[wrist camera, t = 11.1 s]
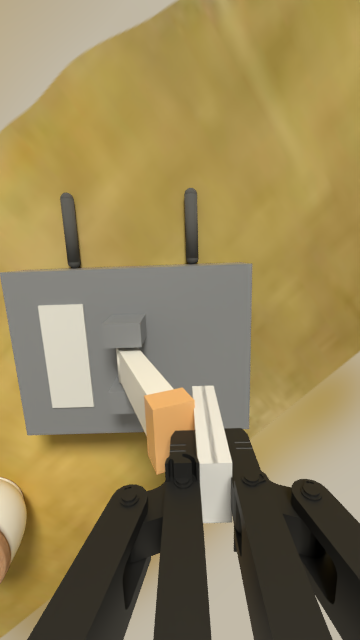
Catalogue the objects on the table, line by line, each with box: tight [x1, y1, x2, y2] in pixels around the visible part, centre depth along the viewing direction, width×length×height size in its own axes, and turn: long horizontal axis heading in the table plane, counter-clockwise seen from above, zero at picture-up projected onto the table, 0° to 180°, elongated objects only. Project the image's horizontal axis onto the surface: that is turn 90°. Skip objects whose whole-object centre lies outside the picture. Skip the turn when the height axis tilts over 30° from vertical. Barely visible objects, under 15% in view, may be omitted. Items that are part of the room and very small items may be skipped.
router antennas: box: [60, 188, 198, 268], centre depth 29 cm, size 13×7×1 cm, turn 92°
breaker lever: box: [116, 347, 195, 474], centre depth 20 cm, size 2×4×12 cm, turn 2°
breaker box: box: [0, 262, 252, 435], centre depth 28 cm, size 22×16×8 cm
